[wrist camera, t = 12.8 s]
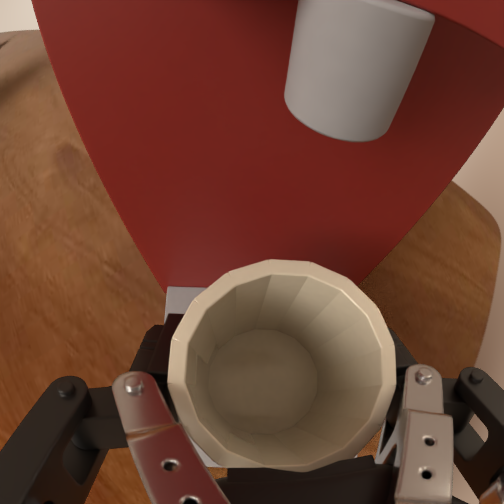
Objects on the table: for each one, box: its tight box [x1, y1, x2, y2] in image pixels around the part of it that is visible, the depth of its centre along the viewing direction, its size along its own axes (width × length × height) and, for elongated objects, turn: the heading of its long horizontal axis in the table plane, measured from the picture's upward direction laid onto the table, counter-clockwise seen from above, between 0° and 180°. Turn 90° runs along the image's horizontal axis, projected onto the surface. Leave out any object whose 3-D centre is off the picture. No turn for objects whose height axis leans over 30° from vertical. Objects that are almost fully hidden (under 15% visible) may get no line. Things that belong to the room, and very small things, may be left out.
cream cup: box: [167, 259, 396, 472], centre depth 11 cm, size 6×6×8 cm
